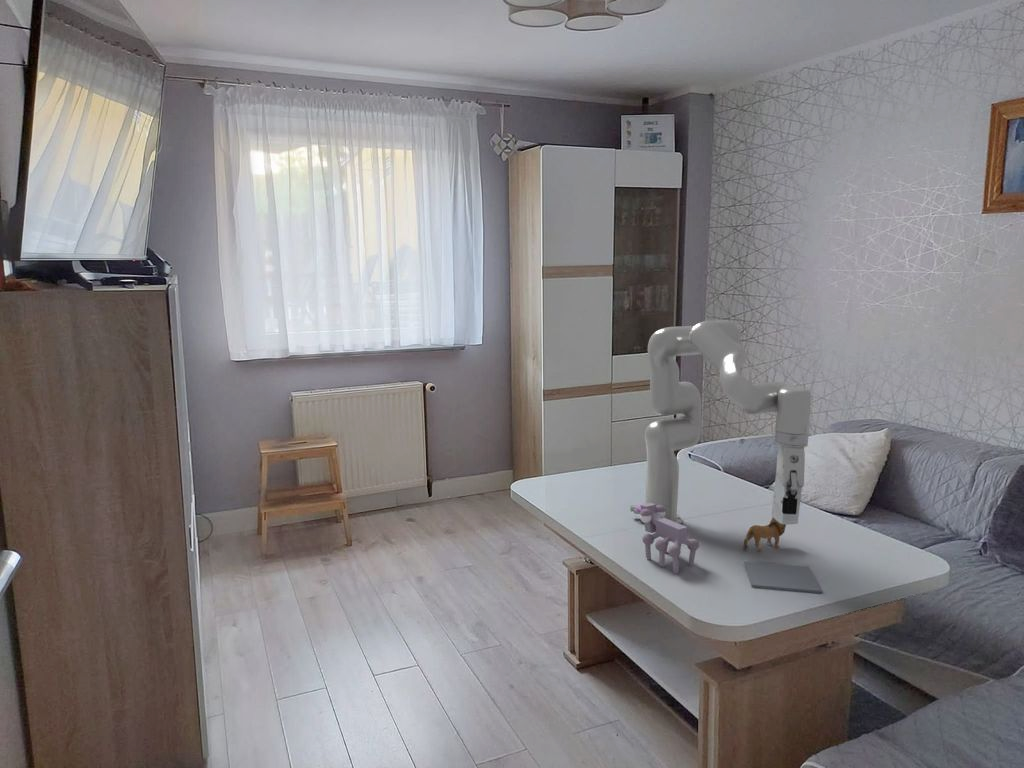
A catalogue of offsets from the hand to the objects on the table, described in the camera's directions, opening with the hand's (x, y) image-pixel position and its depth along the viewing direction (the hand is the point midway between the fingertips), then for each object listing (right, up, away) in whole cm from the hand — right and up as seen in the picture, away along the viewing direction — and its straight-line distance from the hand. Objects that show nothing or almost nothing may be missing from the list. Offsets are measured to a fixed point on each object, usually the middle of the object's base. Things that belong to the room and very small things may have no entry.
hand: (786, 507), depth 171 cm
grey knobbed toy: (-28, -16, +15) cm, 36 cm away
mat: (0, -18, +3) cm, 18 cm away
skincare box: (0, -3, +1) cm, 4 cm away
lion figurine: (+3, -15, +23) cm, 27 cm away
